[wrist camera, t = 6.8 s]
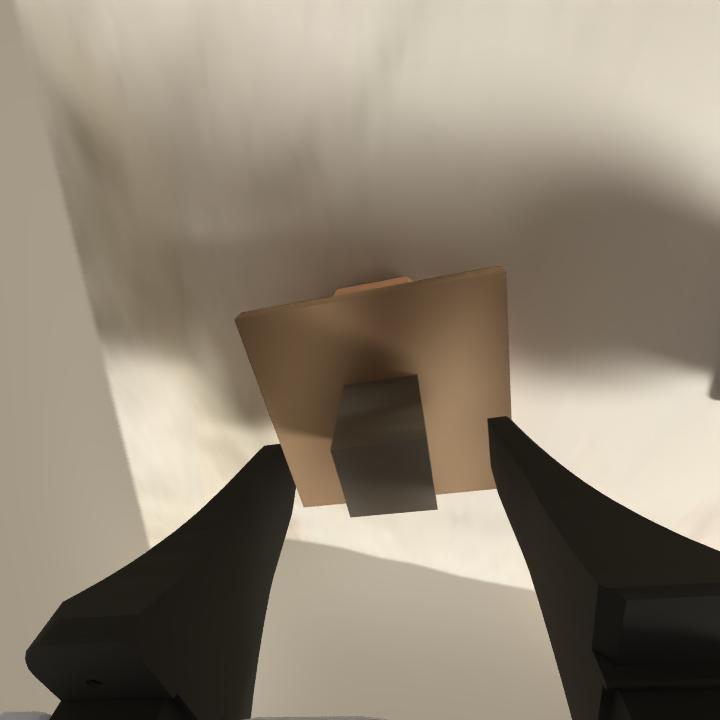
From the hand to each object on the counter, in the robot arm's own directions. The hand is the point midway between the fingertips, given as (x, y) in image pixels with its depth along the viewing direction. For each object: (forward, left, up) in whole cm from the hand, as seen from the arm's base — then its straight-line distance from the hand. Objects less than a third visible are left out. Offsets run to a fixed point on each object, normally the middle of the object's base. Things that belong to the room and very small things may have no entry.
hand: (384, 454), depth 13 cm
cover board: (0, 0, -4) cm, 4 cm away
